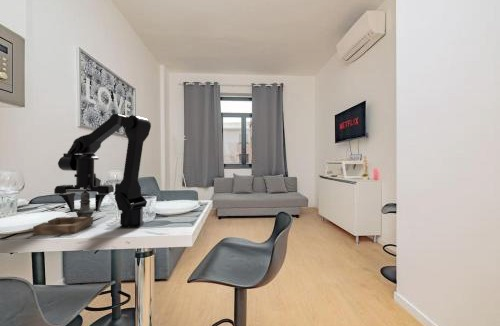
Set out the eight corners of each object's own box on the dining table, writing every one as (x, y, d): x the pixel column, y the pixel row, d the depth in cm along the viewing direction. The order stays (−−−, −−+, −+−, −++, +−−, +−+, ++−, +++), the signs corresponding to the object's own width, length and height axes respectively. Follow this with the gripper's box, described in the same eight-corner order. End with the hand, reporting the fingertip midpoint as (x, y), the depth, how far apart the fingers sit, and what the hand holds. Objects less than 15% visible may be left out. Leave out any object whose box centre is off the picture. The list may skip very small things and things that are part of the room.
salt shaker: (84, 222, 91) (85, 190, 91) (71, 221, 93) (71, 190, 92) (97, 219, 97) (97, 189, 97) (85, 218, 98) (85, 188, 98)
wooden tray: (92, 223, 91) (92, 216, 91) (75, 233, 79) (75, 225, 79) (56, 224, 89) (57, 217, 89) (33, 234, 77) (33, 226, 77)
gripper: (118, 170, 104) (118, 207, 104) (70, 170, 101) (70, 207, 101) (108, 171, 93) (107, 212, 93) (53, 171, 90) (53, 213, 90)
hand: (85, 211), depth 95 cm, fingers closed on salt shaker, 8 cm apart
